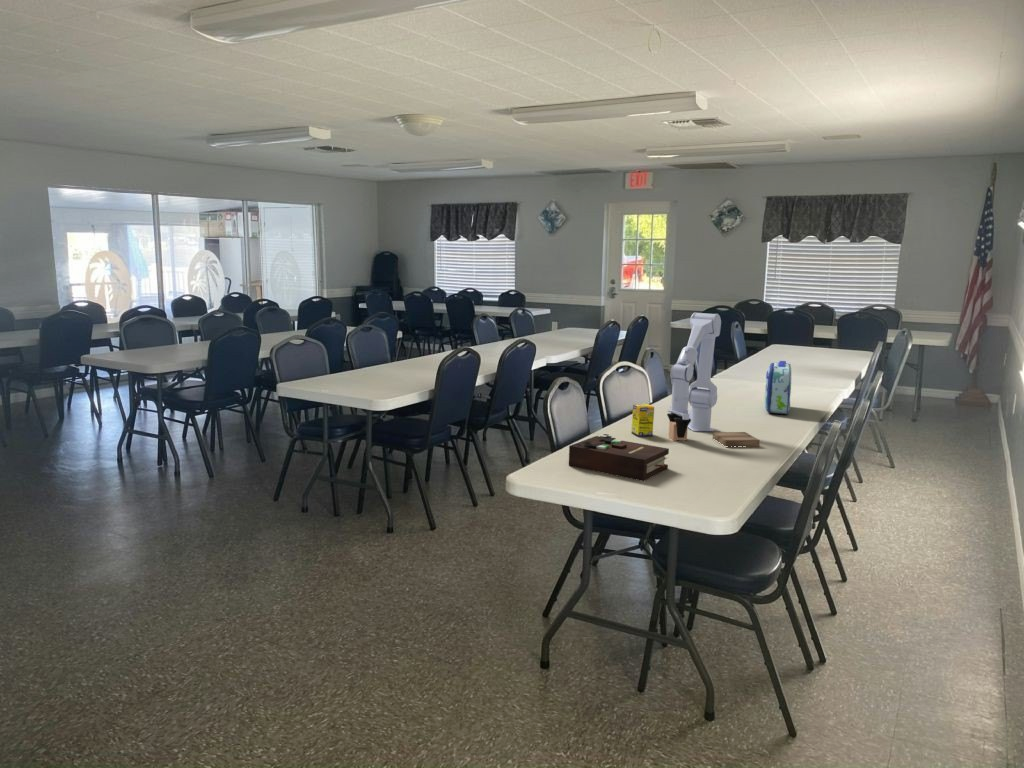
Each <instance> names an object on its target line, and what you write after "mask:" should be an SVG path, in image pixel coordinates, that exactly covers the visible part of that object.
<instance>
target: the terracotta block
mask: <svg viewBox="0 0 1024 768" xmlns="http://www.w3.org/2000/svg"><path fill="white" fill-rule="evenodd" d="M668 423H669V424H668V425H669V426H668V439H669V440H671V439H672V440H673V441H672V440H671V441H672V442H676V441H675V440H687V441H688V429H689V428H688V427H687V429H686V432H685V436H684V438H678V436H677V427H676V422H670V421H669V422H668Z"/></svg>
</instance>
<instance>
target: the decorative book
mask: <svg viewBox="0 0 1024 768" xmlns="http://www.w3.org/2000/svg"><path fill="white" fill-rule="evenodd" d="M568 448H569V449H568V466H569V467H573V468H579V469H583V470H587V471H588V470H589V471H592V472H593V471H594V472H598V473H602V472H603V473H602V474H606V473H608V475H611V474H612V475H613V476H616V475H618V476H617V477H621V476H622V477H621V478H626V477H627V479H631V478H632V480H636V479H637V480H636V481H640V480H642V481H641V482H645V481H647V480H648V478H649V479H650V477H651V478H652V476H653V477H654V476H656V475H658V474H660V473H662V472H664V471H666V470H668V467H669V465H668V464H666V463H665V460H667V459H668V458H669V457H667V455H668V456H669V453H670V449H669V448H667V447H661V446H656V445H649V444H644V443H637V442H633V441H629V440H621V439H617V438H616V437H613V436H612V435H609V434H605V433H604V434H603V436H602V435H600V436H599V435H595V436H592V437H590V438H587V439H585V440H582V441H578V442H575V443H573V444H570V445H569V446H568ZM612 475H611V476H612ZM646 479H647V480H646ZM644 480H645V481H644Z"/></svg>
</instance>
